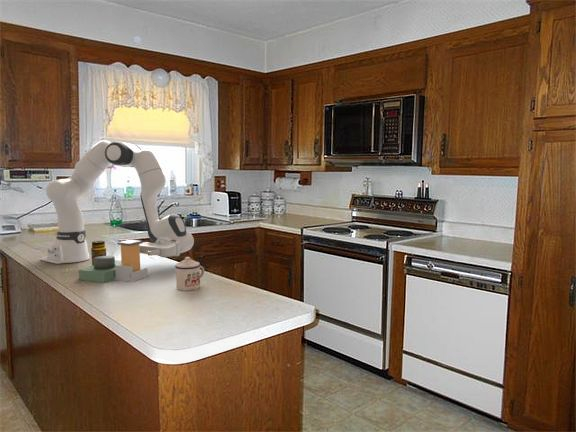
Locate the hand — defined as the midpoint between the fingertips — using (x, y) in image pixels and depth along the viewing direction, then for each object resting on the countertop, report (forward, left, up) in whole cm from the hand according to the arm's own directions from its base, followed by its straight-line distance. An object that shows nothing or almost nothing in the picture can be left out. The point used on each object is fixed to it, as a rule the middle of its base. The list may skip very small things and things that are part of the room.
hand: (140, 252), depth 185 cm
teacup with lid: (+29, -6, -10) cm, 32 cm away
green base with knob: (-7, -6, -10) cm, 13 cm away
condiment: (-27, +2, -10) cm, 28 cm away
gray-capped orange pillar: (-1, -5, -9) cm, 10 cm away
